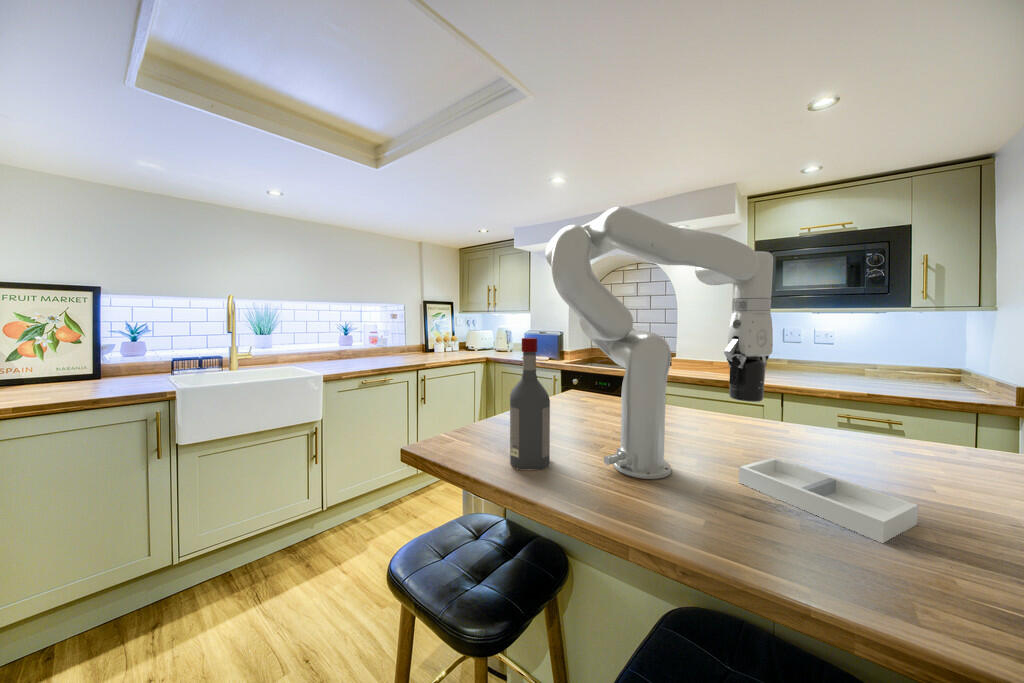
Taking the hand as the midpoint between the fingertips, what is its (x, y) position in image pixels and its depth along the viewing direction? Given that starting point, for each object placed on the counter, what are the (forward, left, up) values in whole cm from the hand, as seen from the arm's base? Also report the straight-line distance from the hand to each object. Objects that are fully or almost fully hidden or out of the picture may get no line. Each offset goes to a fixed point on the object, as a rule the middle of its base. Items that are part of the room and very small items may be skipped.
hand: (746, 382), depth 87 cm
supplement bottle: (0, 0, -4) cm, 4 cm away
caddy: (-5, -17, -20) cm, 27 cm away
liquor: (-46, +23, -20) cm, 55 cm away
